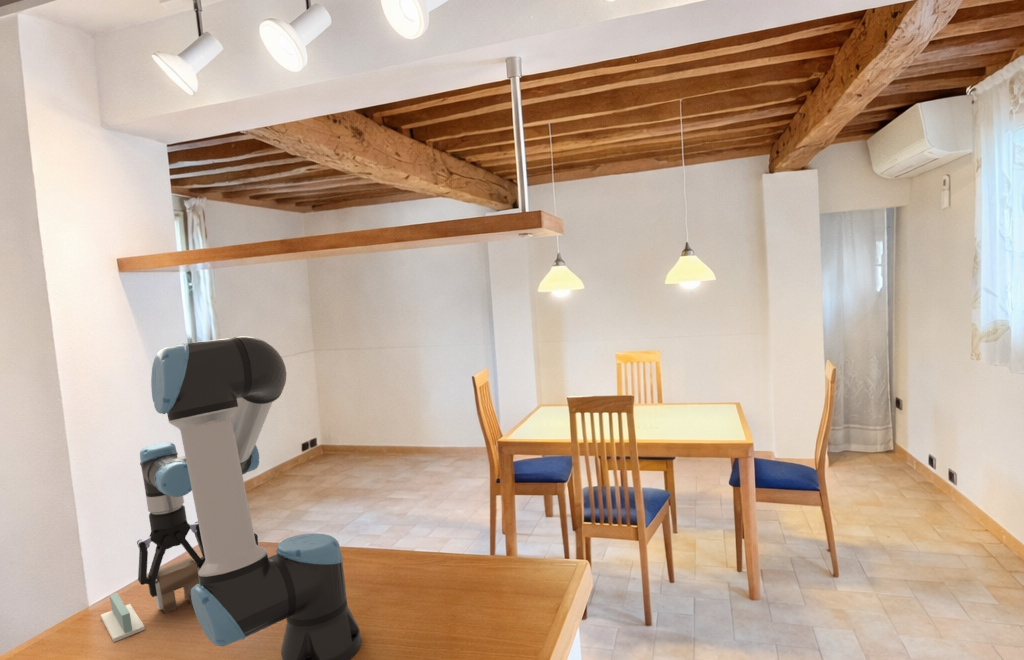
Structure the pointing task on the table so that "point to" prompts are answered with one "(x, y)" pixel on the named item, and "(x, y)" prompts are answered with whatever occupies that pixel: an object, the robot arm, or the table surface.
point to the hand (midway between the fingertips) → (180, 599)
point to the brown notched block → (177, 582)
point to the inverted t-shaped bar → (121, 619)
